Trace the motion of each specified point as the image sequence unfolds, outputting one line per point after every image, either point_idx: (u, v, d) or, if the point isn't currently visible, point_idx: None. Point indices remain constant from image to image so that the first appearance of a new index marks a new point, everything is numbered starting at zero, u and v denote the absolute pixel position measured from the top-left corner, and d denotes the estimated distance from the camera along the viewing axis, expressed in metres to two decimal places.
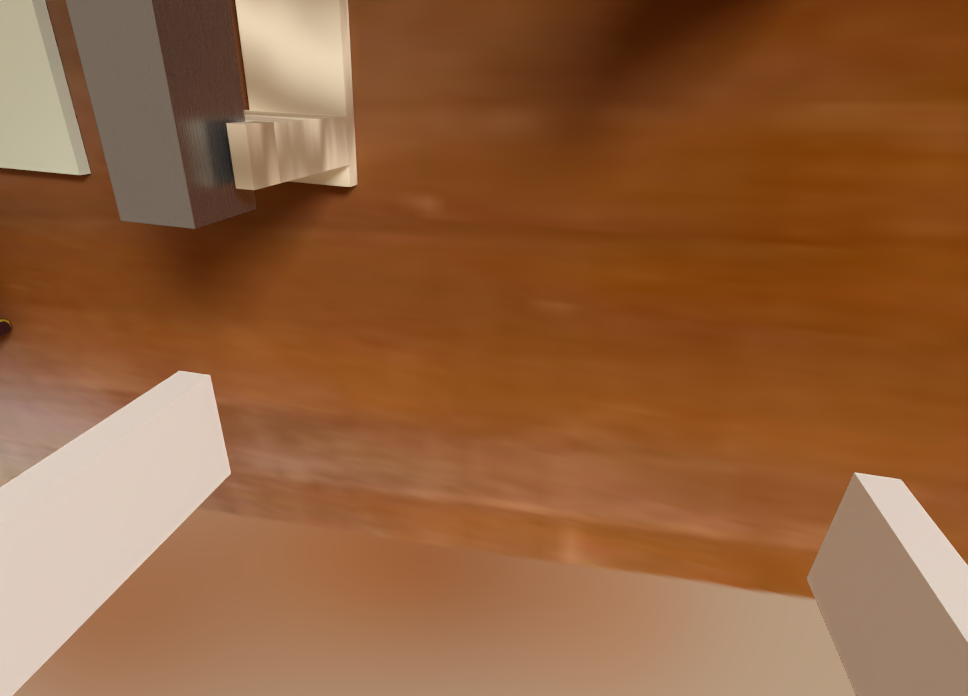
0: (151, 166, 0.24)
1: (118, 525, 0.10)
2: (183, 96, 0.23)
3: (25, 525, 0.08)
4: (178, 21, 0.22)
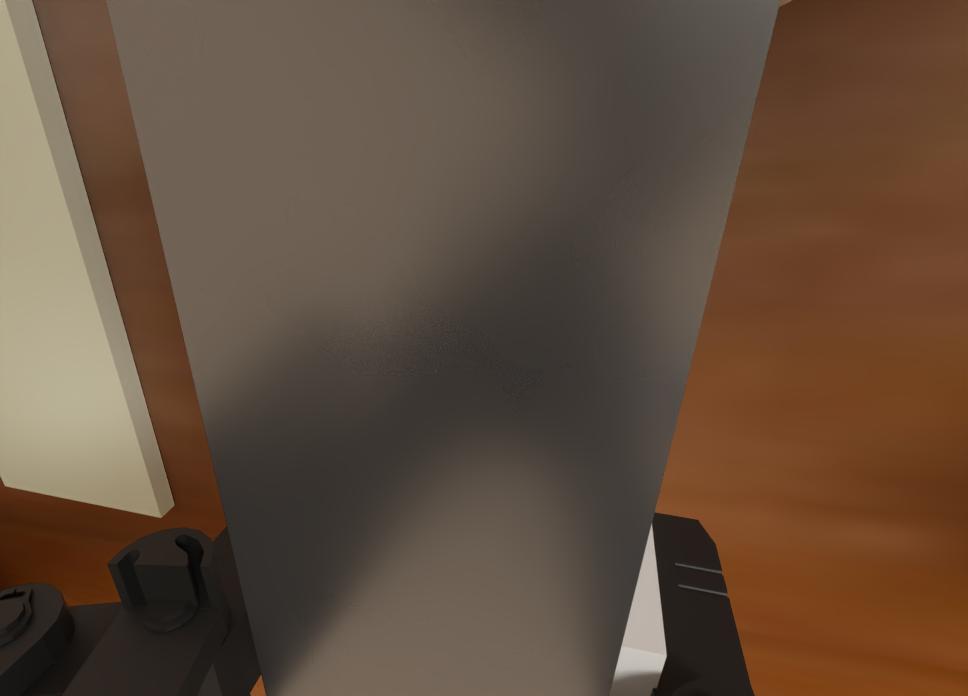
0: None
1: None
2: None
3: None
4: None
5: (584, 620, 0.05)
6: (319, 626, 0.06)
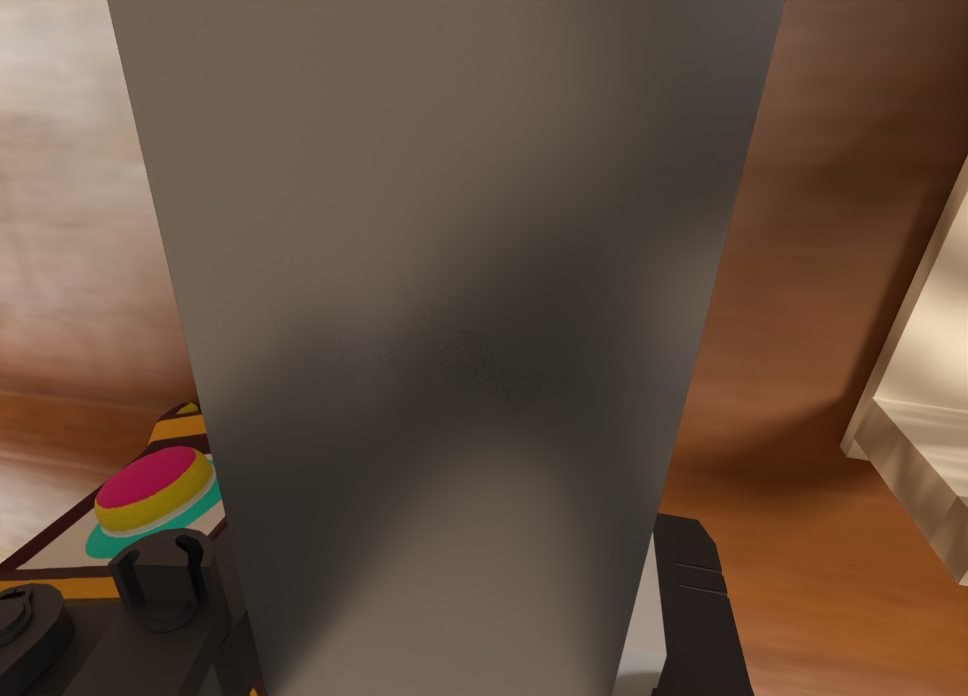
0: None
1: None
2: None
3: None
4: None
5: (584, 628, 0.05)
6: (321, 632, 0.06)
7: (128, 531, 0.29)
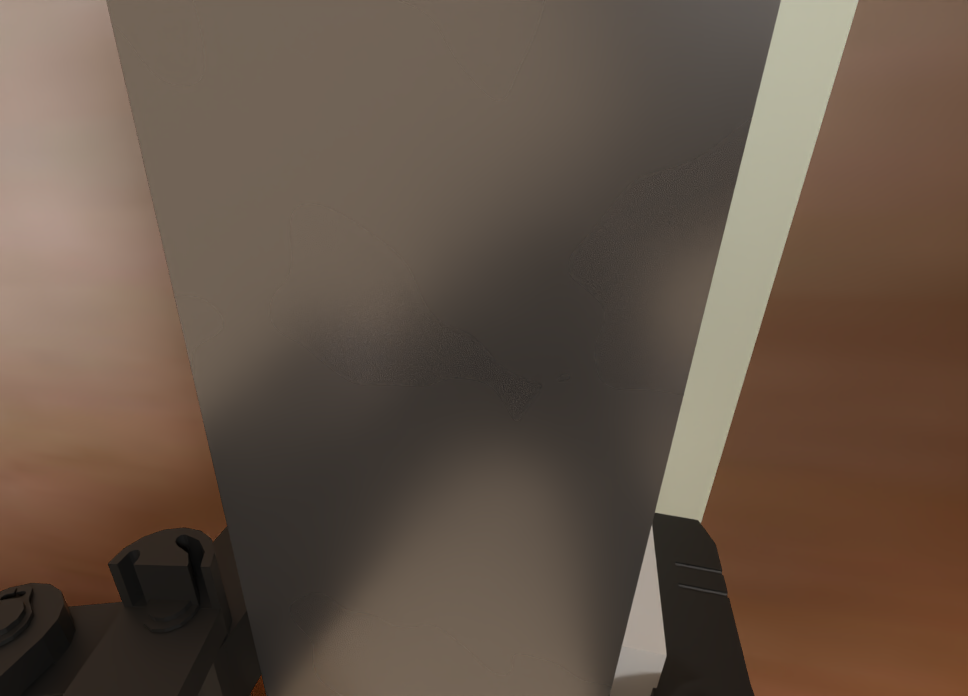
0: None
1: None
2: None
3: None
4: None
5: (583, 627, 0.05)
6: (320, 632, 0.06)
7: None
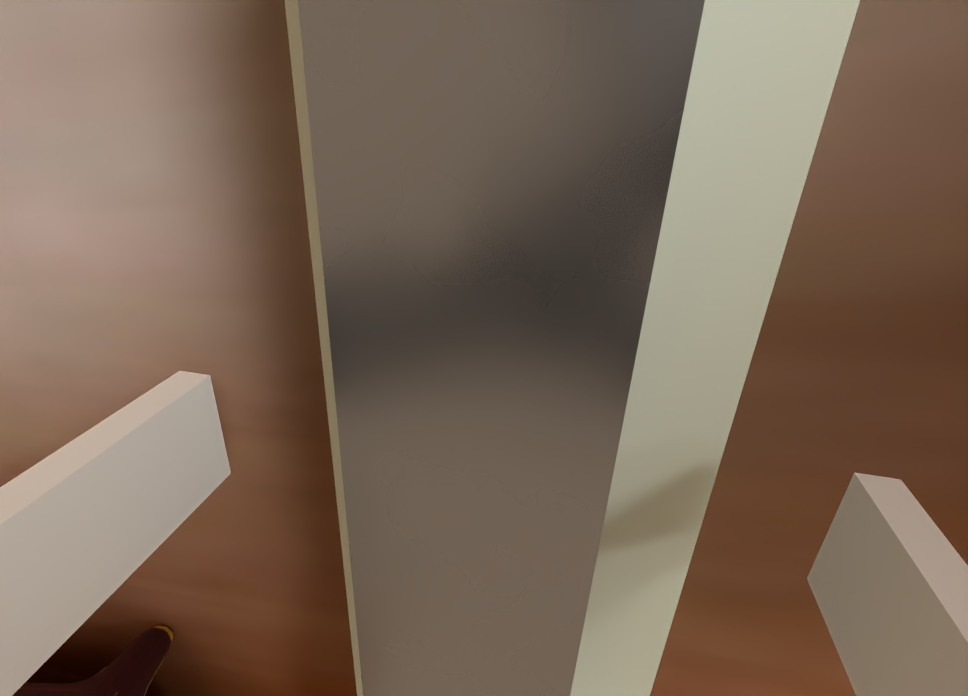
0: None
1: (118, 525, 0.10)
2: None
3: (25, 525, 0.08)
4: None
5: (586, 461, 0.07)
6: (396, 483, 0.08)
7: None
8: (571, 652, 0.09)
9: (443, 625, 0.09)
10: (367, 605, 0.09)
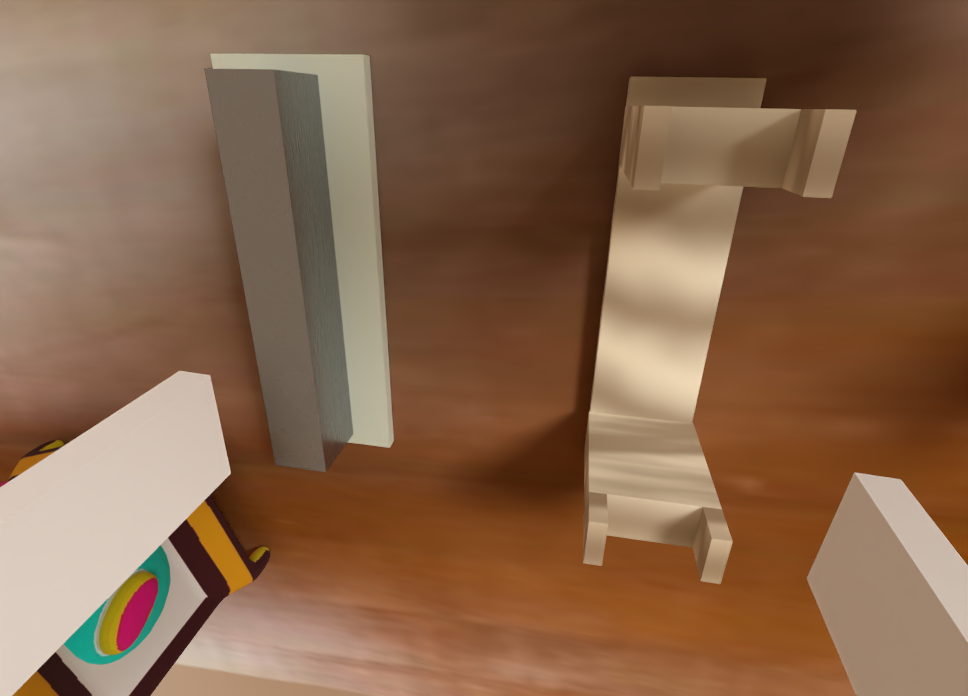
0: (300, 438, 0.37)
1: (118, 525, 0.10)
2: (322, 400, 0.37)
3: (25, 525, 0.08)
4: (321, 360, 0.36)
5: (292, 259, 0.32)
6: (253, 271, 0.33)
7: None
8: (304, 320, 0.33)
9: (272, 318, 0.34)
10: (251, 314, 0.34)
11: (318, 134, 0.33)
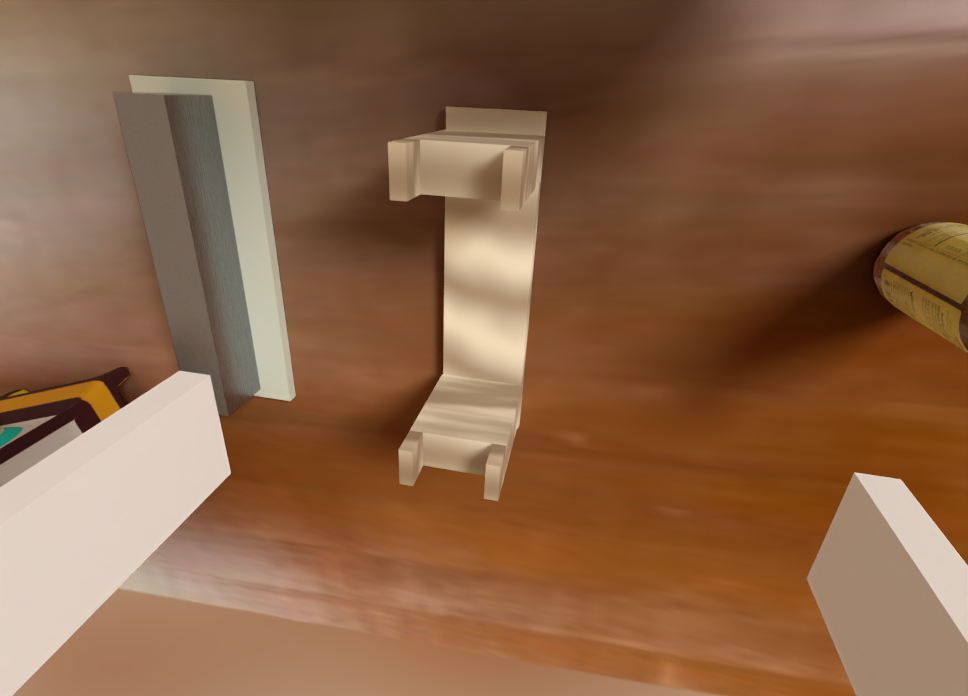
0: None
1: (118, 525, 0.10)
2: (223, 357, 0.45)
3: (25, 525, 0.08)
4: (221, 324, 0.45)
5: (189, 242, 0.40)
6: (160, 251, 0.41)
7: None
8: (201, 291, 0.42)
9: (177, 289, 0.42)
10: (161, 285, 0.42)
11: (214, 142, 0.41)
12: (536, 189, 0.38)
